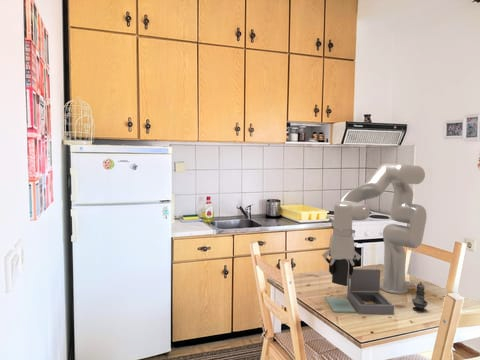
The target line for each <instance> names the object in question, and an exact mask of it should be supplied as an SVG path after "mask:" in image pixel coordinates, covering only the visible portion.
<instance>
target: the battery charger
mask: <svg viewBox="0 0 480 360" xmlns="http://www.w3.org/2000/svg"><path fill="white" fill-rule="evenodd" d="M333 265H334V274H333V275H332V274H331V275H332V276H331V283H332V284H336V285H339V286H343V287H348V276H349V271H350V260H347V259H341V260H335V261H334V263H333Z"/></svg>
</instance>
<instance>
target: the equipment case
mask: <svg viewBox="0 0 480 360" xmlns="http://www.w3.org/2000/svg"><path fill="white" fill-rule="evenodd" d="M380 284H381V269H380V268H378V269H377V268H373V269H372V268H371V269H370V268H353V273H352V275H350V274H349V276H348V286H347V289H346V290H347V291H346V293H347V294H346V295H347V297H346V299H347V300H348V301H349V303H350V304H351V305H352V307H353V308H354V309H355V311H356V312H357V313H358V314H359V315H394V313H395V305H394V304H393V303H391V302H390V300H388V298H386V296H384V295H383V293H381V289H380ZM365 302H372V303H365Z"/></svg>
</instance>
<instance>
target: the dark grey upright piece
mask: <svg viewBox="0 0 480 360" xmlns="http://www.w3.org/2000/svg"><path fill="white" fill-rule="evenodd" d="M425 294H426V292H425V285H424V284H423V283H422V281H420V282H419V283H417V284H416V291H415V298H413V299H411V301H412V304H413V307H412V310H413V311H415V312H418V313H427V312H428V311H427V309H426V307H427V306H428V301H427V300H425Z"/></svg>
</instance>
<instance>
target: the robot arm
mask: <svg viewBox="0 0 480 360" xmlns="http://www.w3.org/2000/svg"><path fill="white" fill-rule="evenodd" d="M425 177H426V173H425V170H424V168H423V167H422V166H419V165H412V164H406V163H405V164H404V163H383V164H380V165H379V166H378V167H377V168H376V169H375V170H374V172H373V173H372V174H371V175H370V177H369V178H367V180H366V182H364V183H362V184H360V185H359V186H356V187H354V188H353V189H351V190H349V191H348V192H347V193H345V194H344V196H343V197H342V198H341V199H340V201H339V202H337V203H335V204H334V207H333V230H332V231H333V233H332V234H331V235H330V239H329V244H328V245H329V246H328V250H326V251H325V252H324V253H322V254H321V256H322V257H323V259H324V260H325V261H326V262H327V264H329V265H328V272H329V273H330V274H331V275H333V274H334V265H333V263H334V261H335V260H341V259H347V260H350V271H349V274H350V275H352V273H353V269H354V266H355V264H357V263H358V262H359V260H360V259H361V258H362V256H361V255H360V254H359V253H358V252H357V251H356V250H355V240H354V236H353V234H356V230H355V229H353V221H364V220H366V219H368V218H369V217H370V214H371V210H370V207H369V206H368V205H367V204H366V203H364V202H363V201H366V200H371V199H375V198H378V197H380V196H381V195H382V194H383V193H384V192H385V191H386V189H387V188H389V187H388V186H389V185H390V184H391V186H392V189H393V196H392V197H393V198H392V202H391V207H390V218H391V220H393V221H394V222H398V223H402V224H407V225H408V224H409V226H407V225H402V224H398V223H397V224H395V223H391V224H387V225H386V226H384V228H383V231H382V237H383V246H384V253H383V255H384V256H383V278H382V280H383V281H382V283H381V282H380V290H381V291H384V292H386V293H391V294H399V295H403V294H407V293H408V292H409V289H408V288H409V287H410V288H412V287H413V288H414V287H416V283H415V282H410V281H406V261H407V260H406V259H407V255H406V254H407V253H406V251H405V248H408V249H418V248H419V247H421V244H422V242H423V239H424V234H425V228H426V223H427V210H426V208H425V207H424V206H422V205H420V204H416V203H413V198H414V191H413V189H412V187H411V185H419V184H421V183H422V182H424V180H425ZM328 256H329V257H330V258H328Z"/></svg>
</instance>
